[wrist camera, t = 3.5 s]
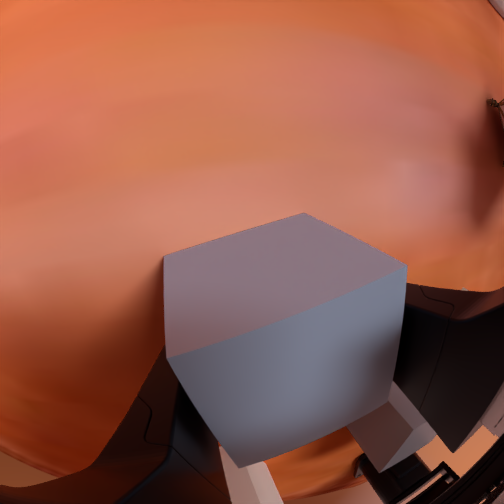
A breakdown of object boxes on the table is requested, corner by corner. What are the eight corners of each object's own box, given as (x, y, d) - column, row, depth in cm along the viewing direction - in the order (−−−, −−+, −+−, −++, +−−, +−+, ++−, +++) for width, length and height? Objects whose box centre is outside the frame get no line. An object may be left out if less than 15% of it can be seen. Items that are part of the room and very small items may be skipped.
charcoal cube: (395, 400, 18) (431, 441, 13) (343, 422, 16) (379, 473, 12) (418, 352, 16) (465, 393, 11) (364, 373, 14) (413, 429, 10)
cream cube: (265, 463, 16) (290, 518, 11) (204, 484, 15) (220, 539, 10) (236, 439, 13) (263, 510, 9) (164, 463, 13) (177, 531, 8)
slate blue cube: (318, 324, 12) (387, 401, 7) (207, 364, 11) (238, 468, 6) (304, 212, 10) (407, 265, 5) (163, 256, 9) (166, 357, 4)
